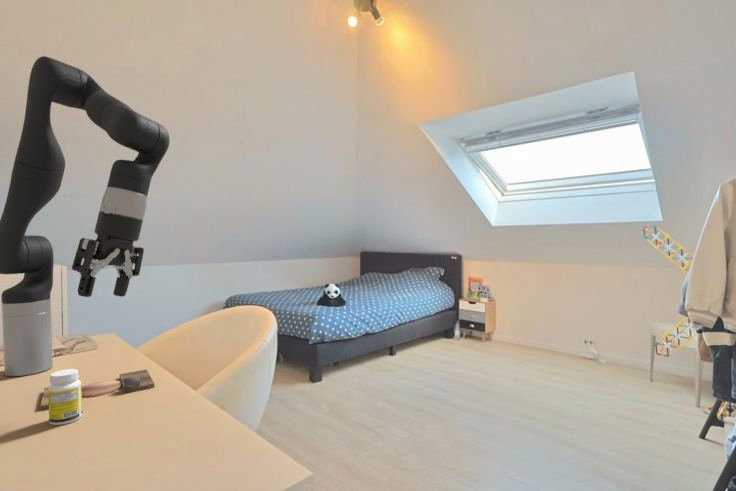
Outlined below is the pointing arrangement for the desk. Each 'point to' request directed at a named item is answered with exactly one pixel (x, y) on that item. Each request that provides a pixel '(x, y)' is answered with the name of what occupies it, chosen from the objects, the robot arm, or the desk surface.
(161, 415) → the desk surface
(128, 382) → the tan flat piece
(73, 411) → the supplement bottle
